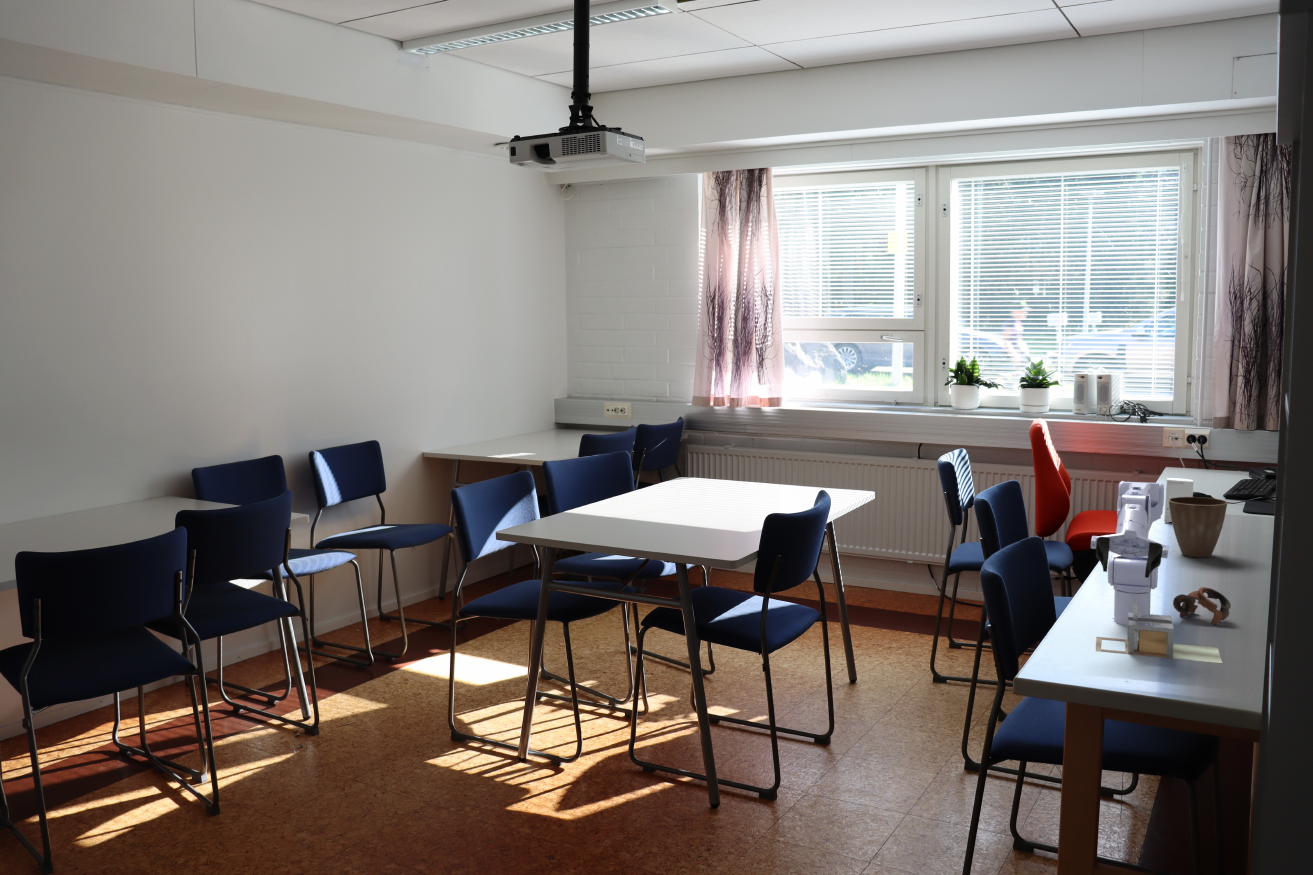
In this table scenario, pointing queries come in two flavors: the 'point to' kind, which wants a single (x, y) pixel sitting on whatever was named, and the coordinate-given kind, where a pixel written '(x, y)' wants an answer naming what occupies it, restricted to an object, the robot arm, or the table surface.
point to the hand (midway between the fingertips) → (1126, 570)
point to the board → (1178, 651)
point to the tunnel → (1151, 629)
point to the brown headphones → (1203, 603)
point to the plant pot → (1197, 524)
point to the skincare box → (1176, 492)
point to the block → (1153, 641)
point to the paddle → (1135, 618)
